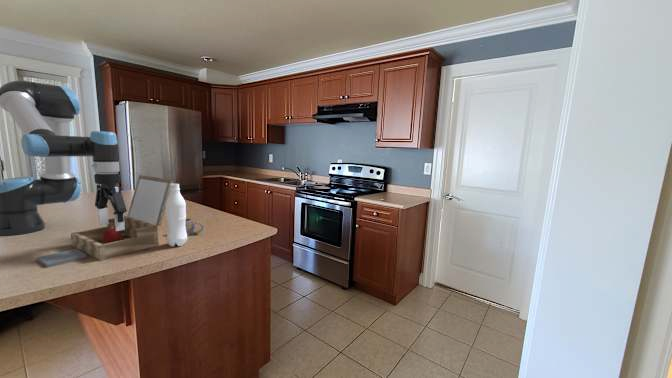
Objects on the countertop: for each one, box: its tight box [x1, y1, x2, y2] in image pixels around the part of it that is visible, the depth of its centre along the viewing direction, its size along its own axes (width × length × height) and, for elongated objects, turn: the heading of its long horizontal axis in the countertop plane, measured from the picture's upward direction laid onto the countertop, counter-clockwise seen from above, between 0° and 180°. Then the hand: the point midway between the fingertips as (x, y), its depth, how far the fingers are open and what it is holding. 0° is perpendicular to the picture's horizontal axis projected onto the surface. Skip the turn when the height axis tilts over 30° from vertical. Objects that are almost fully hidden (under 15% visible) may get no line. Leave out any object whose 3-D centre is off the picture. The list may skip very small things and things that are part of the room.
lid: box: [127, 174, 174, 227], centre depth 118 cm, size 25×19×1 cm
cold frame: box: [70, 215, 159, 261], centre depth 109 cm, size 25×19×8 cm
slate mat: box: [36, 248, 88, 268], centre depth 95 cm, size 10×10×1 cm
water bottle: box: [165, 183, 188, 247], centre depth 111 cm, size 7×7×25 cm
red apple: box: [102, 226, 123, 244], centre depth 108 cm, size 6×6×8 cm
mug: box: [185, 218, 204, 236], centre depth 126 cm, size 12×7×7 cm, turn 87°
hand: (112, 227), depth 107 cm, fingers open, 13 cm apart
